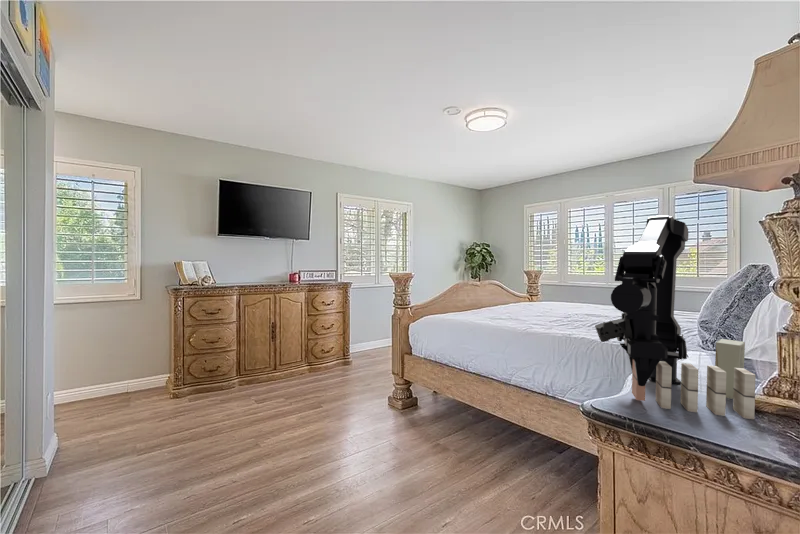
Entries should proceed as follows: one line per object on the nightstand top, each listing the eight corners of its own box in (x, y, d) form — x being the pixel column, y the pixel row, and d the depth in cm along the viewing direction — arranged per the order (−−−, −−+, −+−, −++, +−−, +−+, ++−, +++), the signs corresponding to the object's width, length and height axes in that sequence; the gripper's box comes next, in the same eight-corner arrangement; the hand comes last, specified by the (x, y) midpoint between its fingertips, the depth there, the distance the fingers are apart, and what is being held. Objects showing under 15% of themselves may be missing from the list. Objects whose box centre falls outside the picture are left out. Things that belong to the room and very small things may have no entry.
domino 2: (680, 403, 85) (681, 362, 85) (689, 404, 84) (690, 363, 84) (687, 411, 80) (688, 368, 80) (697, 412, 79) (698, 369, 79)
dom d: (706, 406, 83) (707, 365, 83) (715, 407, 82) (716, 366, 82) (715, 414, 78) (716, 371, 78) (725, 415, 78) (726, 372, 78)
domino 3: (732, 409, 81) (733, 367, 81) (742, 410, 81) (743, 368, 81) (743, 418, 77) (744, 373, 77) (754, 419, 76) (755, 374, 76)
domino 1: (631, 392, 88) (632, 353, 88) (640, 393, 87) (641, 354, 87) (636, 399, 83) (637, 359, 83) (645, 401, 83) (646, 359, 83)
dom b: (655, 400, 86) (656, 360, 86) (664, 401, 86) (665, 361, 86) (661, 407, 82) (662, 366, 81) (670, 409, 81) (671, 367, 81)
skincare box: (719, 390, 94) (720, 338, 94) (744, 395, 91) (745, 341, 90) (713, 395, 90) (714, 341, 90) (739, 401, 86) (740, 344, 86)
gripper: (594, 303, 97) (592, 367, 97) (603, 311, 79) (601, 390, 79) (647, 305, 93) (646, 372, 93) (669, 315, 75) (667, 397, 75)
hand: (638, 382), depth 85 cm, fingers closed on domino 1, 5 cm apart
